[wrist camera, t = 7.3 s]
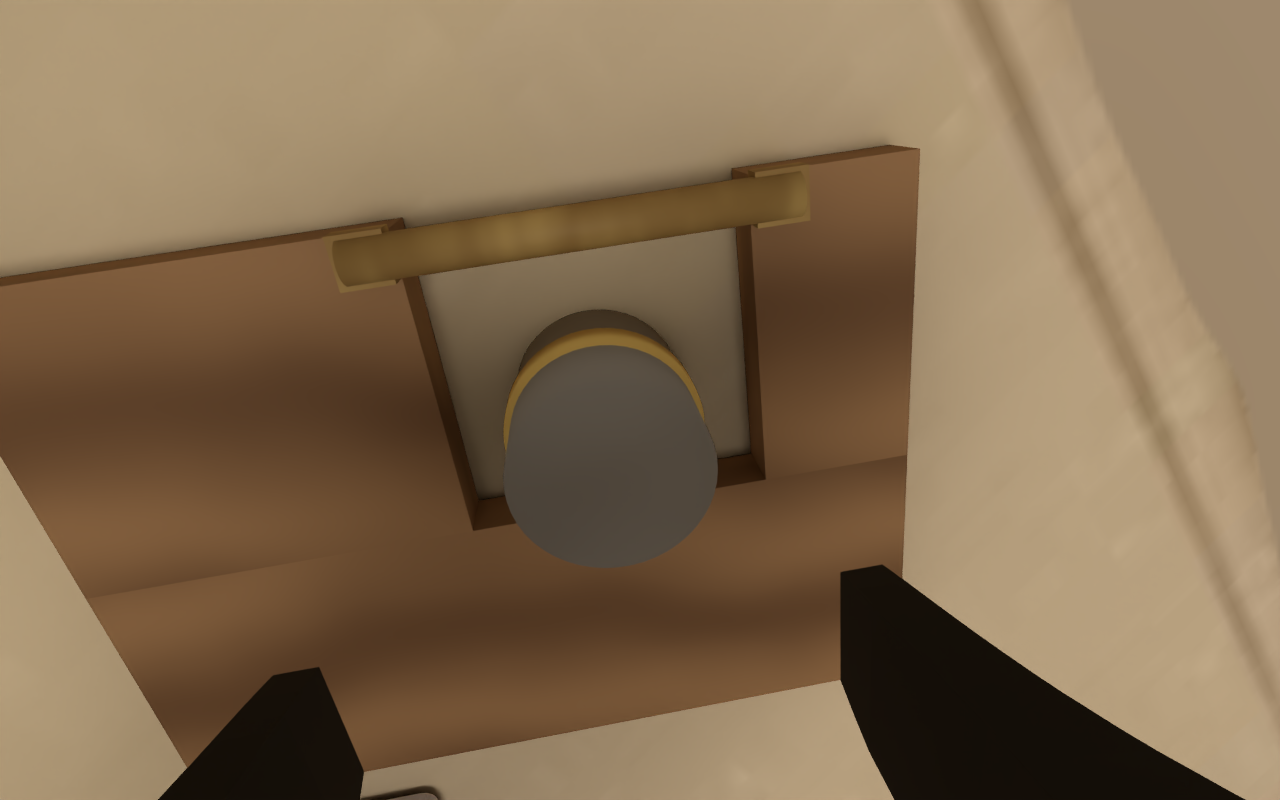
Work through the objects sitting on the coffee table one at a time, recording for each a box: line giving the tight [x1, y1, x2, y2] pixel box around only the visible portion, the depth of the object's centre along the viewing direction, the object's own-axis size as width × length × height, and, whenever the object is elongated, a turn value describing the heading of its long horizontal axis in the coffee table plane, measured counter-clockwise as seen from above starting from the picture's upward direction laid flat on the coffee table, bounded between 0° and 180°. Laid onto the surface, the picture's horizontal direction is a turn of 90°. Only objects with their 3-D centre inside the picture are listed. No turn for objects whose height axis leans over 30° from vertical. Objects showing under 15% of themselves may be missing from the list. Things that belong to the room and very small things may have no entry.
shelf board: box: [0, 145, 920, 772], centre depth 18 cm, size 16×22×2 cm
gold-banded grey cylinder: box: [503, 310, 718, 568], centre depth 16 cm, size 5×5×5 cm
